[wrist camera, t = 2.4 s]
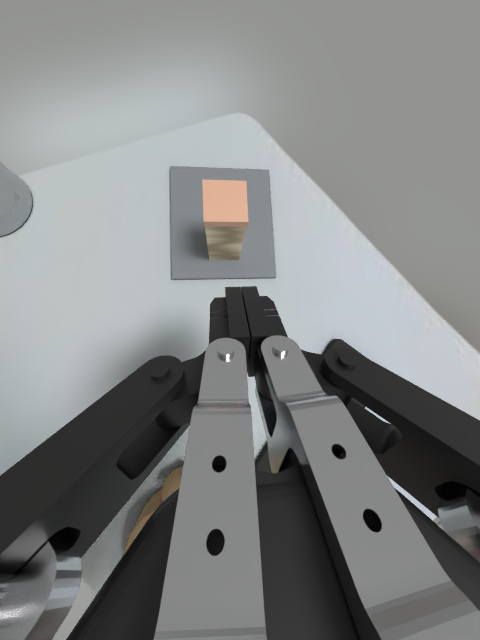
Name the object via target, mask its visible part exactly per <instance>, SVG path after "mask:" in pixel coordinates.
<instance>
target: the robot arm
mask: <svg viewBox="0 0 480 640" xmlns="http://www.w3.org/2000/svg"><path fill="white" fill-rule="evenodd" d="M31 208H32V196H31V192H30V190H29V188H28V186H27V185H26V184H25V182H24V181H23V180H22V179H21V178H19V177H18V176H17V175H16V174H14V173H13V172H12V171H11V170H10V169H8V168H7V167H6V166H5V165H3V164H2V163H1V162H0V236H3V235H7V234H9V233H11V232H13V231H15V230H16V229H18V228H19V227H20V226H21V225H22V224H23V223H24V222H25V221H26V220H27V218H28V216H29V214H30V212H31ZM247 370H248V377H252V376H255V380H256V389H255V393H256V398H257V402H258V406H259V410H260V414H261V417H262V421H263V425H264V429H265V433H266V437H267V442H268V454H269V461H270V466H271V470H272V473H269V472H264V471H259V470H255V462H254V447H253V432H252V417H251V407H250V404H249V400H248V383H247ZM352 397H353V398H354V399H356V400H357V401H359V402H360V403H362V404H363V405H364V406H366V407H367V408H369V409H370V410H372V411H373V412H375V413H376V414H378V415H379V416H381V417H382V418H384V419H385V420H386V421H388V422H389V423H391V424H389V423H386V422H384V421H382V420H380V419H379V418H378V417H376V416H375V415H373V414H372V413H370V412H369V411H367V410H366V409H364V408H363V407H362V406H360V405H359V404H357V403H356V402H354V401H353V400H351V399H352ZM189 425H190V428H189V435H188V441H187V447H186V453H185V459H184V465H183V471H182V477H181V483H180V488H179V489H177V490H176V491H175V492H174V493H172V494H171V495H170V496H169V497H168V498H167V499H166V500H164V501H163V502H162V503H161V504H160V505H159V507H158V508H157V509H156V510H155V511H154V513H153V514H152V515H151V516H150V518H149V519H148V520H147V522H146V523H145V524H144V526H143V527H142V529H141V530H140V532H139V533H138V535H137V536H136V538H135V539H134V541H133V542H132V544H131V545H130V547H129V548H128V549H127V551H126V552H125V554H124V555H123V557H122V558H121V560H120V561H119V563H118V564H117V566H116V567H115V569H114V570H113V572H112V573H111V575H110V576H109V577H108V579H107V580H106V582H105V583H104V585H103V586H102V588H101V589H100V591H99V592H98V594H97V595H96V597H95V598H94V600H93V601H92V603H91V604H90V605H89V607H88V609H87V610H86V611H85V613H84V614H83V616H82V617H81V619H80V620H79V622H78V623H77V625H76V626H75V627H74V629H73V631H72V632H71V633H70V635H69V637H68V638H67V639H66V640H480V421H479V420H478V419H476V418H474V417H472V416H470V415H469V414H467V413H465V412H463V411H461V410H460V409H458V408H456V407H454V406H452V405H451V404H449V403H447V402H445V401H443V400H441V399H440V398H438V397H436V396H434V395H432V394H431V393H429V392H427V391H425V390H423V389H422V388H420V387H418V386H416V385H414V384H413V383H411V382H409V381H407V380H405V379H404V378H402V377H400V376H398V375H396V374H394V373H393V372H391V371H389V370H387V369H385V368H384V367H382V366H380V365H378V364H376V363H375V362H373V361H371V360H369V359H367V358H366V357H364V356H362V355H360V354H358V353H357V352H355V351H353V350H350V349H348V348H343V347H334V348H331V349H329V350H328V351H327V352H326V354H325V355H320V354H315V353H310V352H306V351H303V350H301V349H300V348H299V346H298V344H297V343H296V342H295V341H293V340H292V339H290V338H288V337H287V334H286V332H285V329H284V327H283V324H282V322H281V319H280V317H279V314H278V312H277V310H276V307H275V304H274V302H273V301H272V300H271V299H270V298H269V297H267V296H259V293H258V290H257V287H256V286H251V287H241V288H240V287H225V297H222V298H214V300H213V301H212V302H211V304H210V332H209V345H208V347H207V348H206V350H205V352H203V353H202V354H201V355H200V356H198V357H196V358H193V359H191V360H187V361H184V362H181V361H180V360H179V359H177V358H175V357H173V356H159V357H156V358H153V359H151V360H149V361H148V362H146V363H145V364H144V365H142V366H141V367H140V368H138V369H137V370H136V371H135V372H133V373H132V374H131V375H129V376H128V377H127V378H126V379H124V380H123V381H122V382H120V383H119V384H118V385H117V386H115V387H114V388H113V389H111V390H110V391H109V392H108V393H106V394H105V395H104V396H102V397H101V398H100V399H99V400H97V401H96V402H95V403H93V404H92V405H91V406H89V407H88V408H87V409H86V410H84V411H83V412H82V413H80V414H79V415H78V416H77V417H75V418H74V419H73V420H71V421H70V422H69V423H68V424H66V425H65V426H64V427H62V428H61V429H60V430H59V431H57V432H56V433H55V434H53V435H52V436H51V437H50V438H48V439H47V440H46V441H44V442H43V443H42V444H41V445H39V446H38V447H37V448H35V449H34V450H33V451H32V452H30V453H29V454H28V455H26V456H25V457H24V458H23V459H21V460H20V461H19V462H17V463H16V464H15V465H14V466H12V467H11V468H10V469H8V470H7V471H6V472H5V473H3V474H2V475H1V476H0V640H52V639H53V637H54V635H55V634H56V632H57V630H58V629H59V627H60V626H61V624H62V623H63V621H64V619H65V618H66V616H67V614H68V613H69V611H70V609H71V607H72V605H73V603H74V600H75V598H76V595H77V592H78V589H79V586H80V581H81V574H82V563H81V557H82V556H83V555H84V554H85V552H86V551H87V550H88V549H89V548H90V546H91V545H92V544H93V543H94V541H95V540H96V539H97V538H98V537H99V535H100V534H101V533H102V532H103V530H104V529H105V528H106V527H107V526H108V524H109V523H110V522H111V521H112V519H113V518H114V517H115V516H116V515H117V513H118V512H119V511H120V510H121V508H122V507H123V506H124V505H125V504H126V502H127V501H128V500H129V499H130V497H131V496H132V495H133V494H134V493H135V491H136V490H137V489H138V488H139V486H140V485H141V484H142V483H143V481H144V480H145V479H146V478H147V477H148V475H149V474H150V473H151V472H152V470H153V469H154V468H155V467H156V466H157V464H158V463H159V462H160V461H161V459H162V458H163V457H164V456H165V455H166V453H167V452H168V451H169V450H170V448H171V447H172V446H173V445H174V444H175V442H176V441H177V440H178V439H179V437H180V436H181V435H182V434H183V433H184V431H185V430H186V429H187V428H188V426H189ZM387 476H388V477H390V478H391V479H392V480H393V481H394V482H396V483H397V484H398V485H399V486H401V487H402V488H403V489H404V490H406V491H407V492H408V493H409V494H410V495H412V496H413V497H414V498H415V499H417V500H418V501H419V502H420V503H421V504H423V505H424V506H425V507H426V508H428V509H429V510H430V511H431V512H432V513H434V514H435V515H436V516H437V517H439V518H440V521H439V523H438V525H437V524H436V523H435V522H433V521H432V520H431V519H430V518H429V517H428V516H426V515H425V514H424V513H423V512H422V511H421V510H420V509H418V508H417V507H416V506H415V505H414V504H413V503H412V502H410V501H409V500H408V499H407V498H406V497H405V496H404V495H402V494H401V493H400V492H399V491H398V490H396V489H395V488H394V487H393V485H392V484H391V482H390V480H389V479H388V477H387Z"/></svg>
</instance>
